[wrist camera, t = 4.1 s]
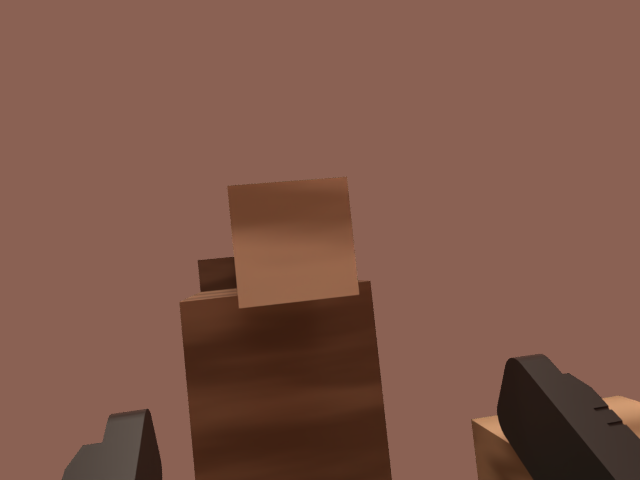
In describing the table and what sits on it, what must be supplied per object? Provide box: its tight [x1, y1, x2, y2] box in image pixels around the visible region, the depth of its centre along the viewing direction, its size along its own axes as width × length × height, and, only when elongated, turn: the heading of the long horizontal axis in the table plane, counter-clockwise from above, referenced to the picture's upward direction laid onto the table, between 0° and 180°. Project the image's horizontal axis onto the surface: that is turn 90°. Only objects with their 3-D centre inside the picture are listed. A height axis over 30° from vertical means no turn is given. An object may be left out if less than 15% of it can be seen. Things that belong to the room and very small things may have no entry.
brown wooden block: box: [228, 177, 359, 308], centre depth 29 cm, size 24×4×4 cm, turn 9°
